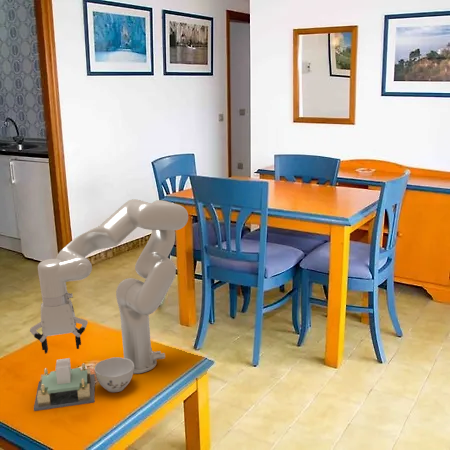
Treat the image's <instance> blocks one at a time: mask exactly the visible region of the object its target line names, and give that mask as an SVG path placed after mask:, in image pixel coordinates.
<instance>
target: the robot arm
mask: <svg viewBox="0 0 450 450" xmlns="http://www.w3.org/2000/svg"><path fill="white" fill-rule="evenodd" d="M188 220H189V214H188V210H187V209H186V208H185V207H184V206H182V205H180V204H178V203H174V202H170V201H167V200H162V199H161V200H160V199H158V200H155V201H153V202H147V201H144V200H141V199H134V198H133V199H129V200H127V201H126V202H125V203H123V204H122V205H121V206H120V207H118V209H117V210H115V212H114V213H112V214H111V215H110V216H109V217H108V218H106V219H105V221H103V222H102V223H101V224H100V225H98V226H97V227H94V228H92V229H90V230H88V231H86V232H83V233H82V234H79V235H78V236H76V237H75V238H74V239H73V240H71V241H70V242H68V244H66V245H65V246H64V247H63V248H62V249H60V251H59V252H58V254H57V255H56V257H55V258H48V259H44V260H42V261H40V262H39V263H38V265H37V274H38V278H39V279H38V280H39V286H40V293H41V299H42V300H41V301H42V302H41V304H40V322H37V323H36V324H35V325H33V326H31V327H30V330H29V332H30V333H31V335H33V337H34V338H35V339H36V340H38V341H39V342H40V344H41V350H42V351H44V354H48V352H49V345H48V339H47V337H51V336H57V335H65V334H70V333H71V334H73V335H74V336H75V347H76V349H77V350H79V349H80V346H81V345H82V339H81V336H82V334H83V333H84V332H85V331H86V328H87V325H88V320H87V319H84V318H80V317H77V316H76V314H75V309H74V306H73V302H72V300H71V298H73V296H74V295H73V293H69V292H68V290H67V288H68V287H67V282H75V281H81V280H84V279H87V278H88V277H89V276H90V274H91V273H92V270H93V266H92V265H93V264H92V263H91V261H90V260H89V259H88V258H87V256H88V255H90V254H92V253H93V252H95V251H98V250H103V249H108V248H109V249H110V248H113V247H116V246H118V245H119V244H120V243H122V242H123V241H124V240H125V239H126V238H127V237H128V236H130V234H132V232H134V231H135V230H136V229H137V228H140V229H143V230H149V231H151V235H150V237H149V238H148V241H147V242H146V245H145V246H144V248H143V249H142V251H141V253H140V255H139V257H138V258H137V260H136V262H135V265H134V271H135V272H136V273H137V275H138V276H139V277H141V278H143V279H145V281H144V282H143V281H141V280H139V279H136V278H133V277H129V278H125V279H123V280H122V281H120V282H119V283H118V285H117V287H116V291H115V293H116V294H115V296H116V297H115V298H116V302H117V305H118V309H119V314H120V315H119V316H120V324H121V325H120V326H121V327H120V329H121V339H122V348H123V350H122V351H123V358H127V359H130V360H131V361H132V362H133V363H134V371H133V375H134V374H135V375H136V374H143V373H146V372H150V371H151V370H152V369H154V368H155V367H156V366H157V363H158V362H157V360H163V359H166V353H165V352H161V350H159V351H158V350H156V351H154V350H152V343H151V332H150V331H151V328H150V317H149V316H150V315H151V314H153V313H154V312H156V310H158V309H159V307H160V305H161V304H162V302H163V300H164V299H165V297H166V295H167V293H168V292H169V290H170V287H171V286H172V284H173V282H174V280H175V277H176V274H177V273H176V272H177V270H176V265H175V263H174V261H173V260H172V259H171V258H169V256H170V254H171V252H172V250H173V247H174V245H175V241H176V231H178V230H181V229H183V228H184V227H185V226H186V225H187V223H188V222H189V221H188ZM77 324H80V325H81V327H79V328H78V327H77ZM39 329H41V331H42V333H40V332H38V331H37V330H39Z"/></svg>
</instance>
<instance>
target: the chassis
mask: <svg viewBox="0 0 450 450" xmlns="http://www.w3.org/2000/svg"><path fill="white" fill-rule="evenodd" d="M81 367H82V368H81V371H84V370H87V385H85V381H84V379H81V384H82V385H81V386H80V389H78V390H71V391H64V392H57V393H50V394H48V392H47V390H45V385H44V384H42V385H41V383H42V378H43V376H47V375H50V373H48V372H49V371H48V368H47V367H45V368H44V369H43V370H44V371H43V372H44V373H43V374H40V381H38V385H37V390H36V394H35V400H34V405H33V411H34V412H36V411H43V410H51V409H57V408H64V407H71V406H77V405H78V406H79V405H86V404H93V403H95V393H96V392H95V386H96V385H95V380H96V379H95V378H96V375H95V373H92V374H91V368H90V367H88V368H86V363H85V362H84V363H82V364H81ZM41 389H42V391H41Z"/></svg>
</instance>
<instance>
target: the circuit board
mask: <svg viewBox="0 0 450 450" xmlns="http://www.w3.org/2000/svg"><path fill="white" fill-rule="evenodd" d="M81 369H82V368H81V367H76V368H72V367H71V358H70V357H68V358H62V359H61V358H60V359H56V363H55V370H52V371H50V373H49V374H50V375H47V376H43V378H42V383H41V385H42V384H44V385H45V390H47V392H48V394H50V393H57V392H64V391H71V390H78V389H80V386H81V385H82V384H81V379H84V381H85V385H87V370H84V371H81ZM41 391H42V389H41Z"/></svg>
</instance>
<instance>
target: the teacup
mask: <svg viewBox="0 0 450 450" xmlns="http://www.w3.org/2000/svg"><path fill="white" fill-rule="evenodd" d="M93 369H94V375H95V378H96V379H97V382H98V383H99V385H100V386H101V387H102V388H104V389H105V390H106V391H107V392H109V393H118V392H119V393H120V392H122V391H123V390H124V389H126V387H127V386H128V385H129V384H130V382H131V380H132V378H133V375H134V374H133V371H134V363H133V362H132V361H131V360H130V359H127V358H124V357H110V358H106V359H104V360H103V359H102V360H101V361H99V362H97V363H96V365H95V366H94V368H93Z"/></svg>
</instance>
